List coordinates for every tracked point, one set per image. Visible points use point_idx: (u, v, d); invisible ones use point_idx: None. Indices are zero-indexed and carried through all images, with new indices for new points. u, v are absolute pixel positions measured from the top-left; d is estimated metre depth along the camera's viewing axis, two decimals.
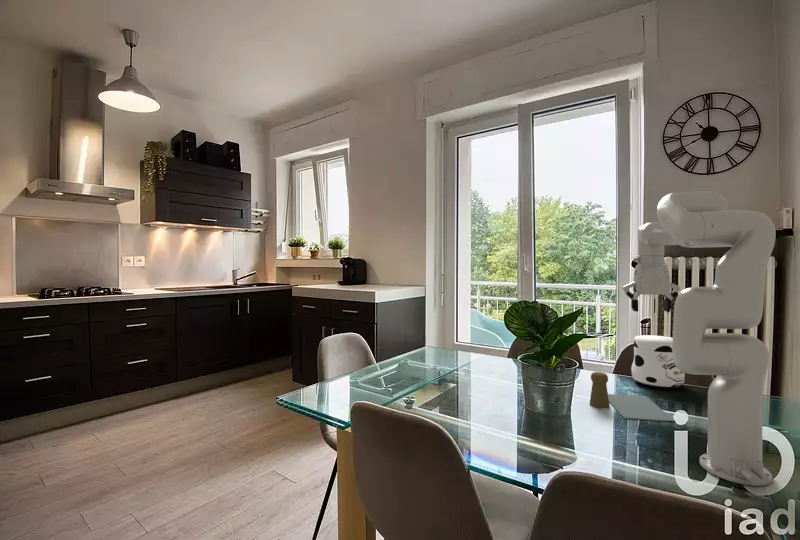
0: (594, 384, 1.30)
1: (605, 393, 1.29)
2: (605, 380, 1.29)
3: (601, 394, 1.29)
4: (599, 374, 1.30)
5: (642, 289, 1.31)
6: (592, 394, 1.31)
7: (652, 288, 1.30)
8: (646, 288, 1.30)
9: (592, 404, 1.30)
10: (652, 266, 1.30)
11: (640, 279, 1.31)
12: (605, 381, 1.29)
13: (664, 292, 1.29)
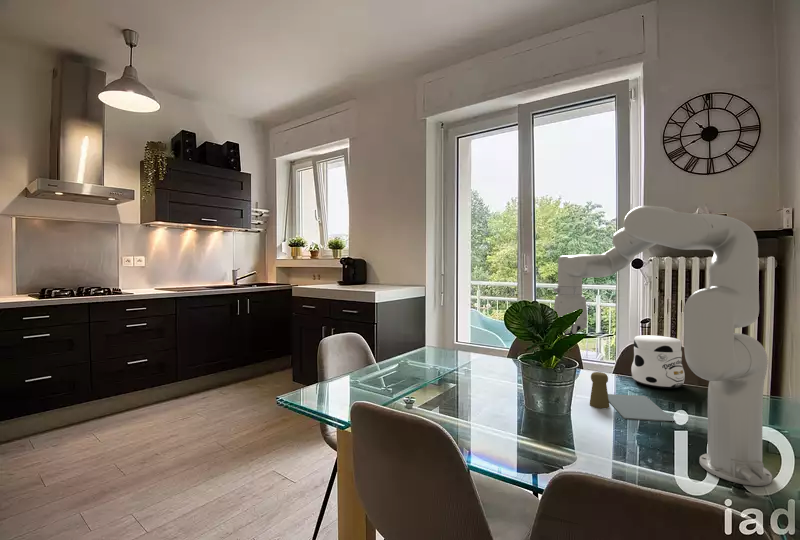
0: (594, 384, 1.30)
1: (605, 393, 1.29)
2: (605, 380, 1.29)
3: (601, 394, 1.29)
4: (599, 374, 1.30)
5: None
6: (592, 394, 1.31)
7: None
8: None
9: (592, 404, 1.30)
10: (569, 297, 1.30)
11: (558, 310, 1.31)
12: (605, 381, 1.29)
13: (581, 323, 1.29)
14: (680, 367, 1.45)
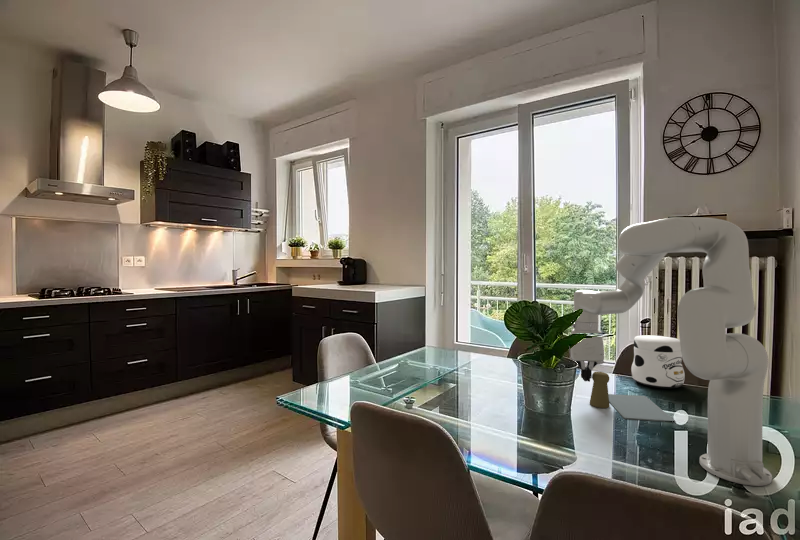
0: (595, 383, 1.30)
1: (606, 393, 1.29)
2: (606, 380, 1.29)
3: (602, 393, 1.29)
4: (600, 373, 1.30)
5: (576, 355, 1.30)
6: (593, 393, 1.31)
7: (586, 354, 1.29)
8: (580, 355, 1.30)
9: (592, 403, 1.30)
10: None
11: (574, 345, 1.30)
12: (606, 381, 1.29)
13: (598, 359, 1.29)
14: (680, 367, 1.45)
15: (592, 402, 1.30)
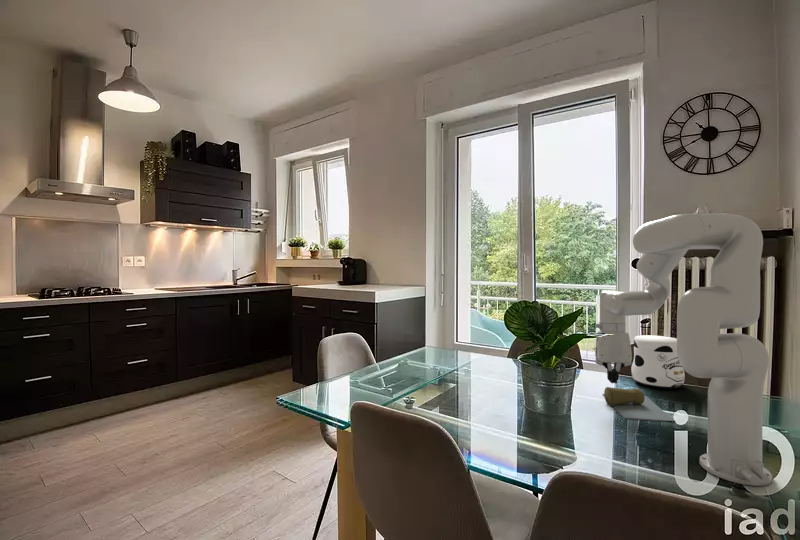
0: (631, 391, 1.30)
1: (626, 401, 1.29)
2: (640, 401, 1.28)
3: (626, 397, 1.28)
4: None
5: (603, 357, 1.28)
6: (620, 389, 1.30)
7: (613, 356, 1.27)
8: (607, 356, 1.28)
9: (611, 389, 1.30)
10: None
11: (601, 347, 1.28)
12: (639, 401, 1.28)
13: (625, 361, 1.27)
14: (680, 367, 1.45)
15: (612, 389, 1.30)
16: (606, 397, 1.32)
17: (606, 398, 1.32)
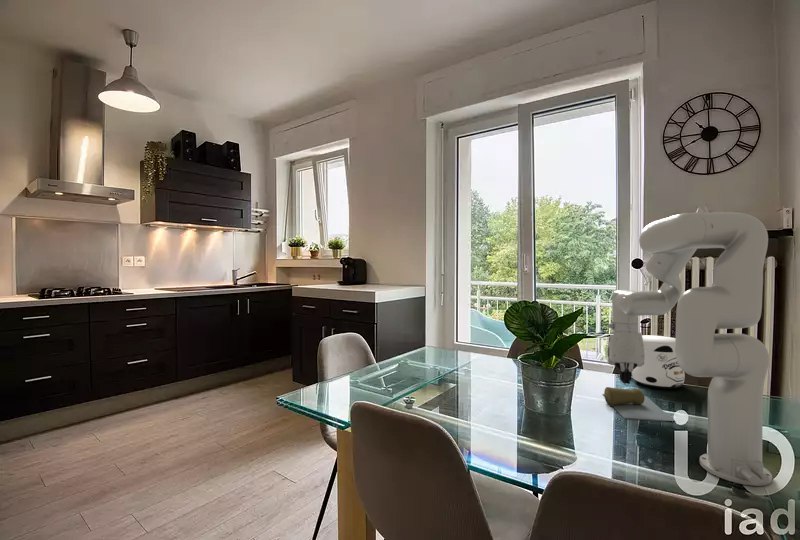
0: (631, 391, 1.30)
1: (626, 401, 1.29)
2: (640, 401, 1.28)
3: (626, 397, 1.28)
4: None
5: (616, 357, 1.27)
6: (620, 389, 1.30)
7: (626, 356, 1.27)
8: (620, 356, 1.27)
9: (611, 389, 1.30)
10: (625, 334, 1.27)
11: (614, 347, 1.27)
12: (639, 401, 1.28)
13: (638, 361, 1.26)
14: (680, 367, 1.45)
15: (612, 389, 1.30)
16: (606, 397, 1.32)
17: (606, 398, 1.32)
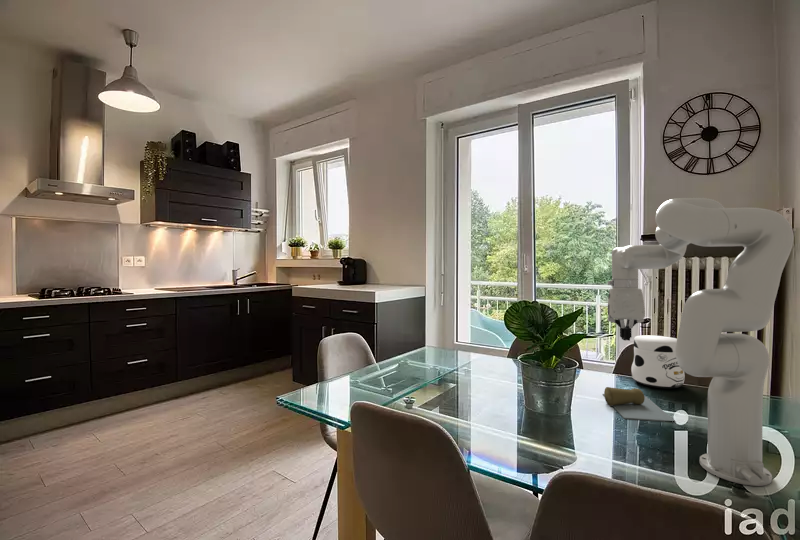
0: (631, 391, 1.30)
1: (626, 401, 1.29)
2: (640, 401, 1.28)
3: (626, 397, 1.28)
4: None
5: (616, 313, 1.27)
6: (620, 389, 1.30)
7: (626, 312, 1.26)
8: (620, 313, 1.27)
9: (611, 389, 1.30)
10: (625, 290, 1.26)
11: (614, 303, 1.27)
12: (639, 401, 1.28)
13: (638, 317, 1.25)
14: None
15: (612, 389, 1.30)
16: (606, 397, 1.32)
17: (606, 398, 1.32)
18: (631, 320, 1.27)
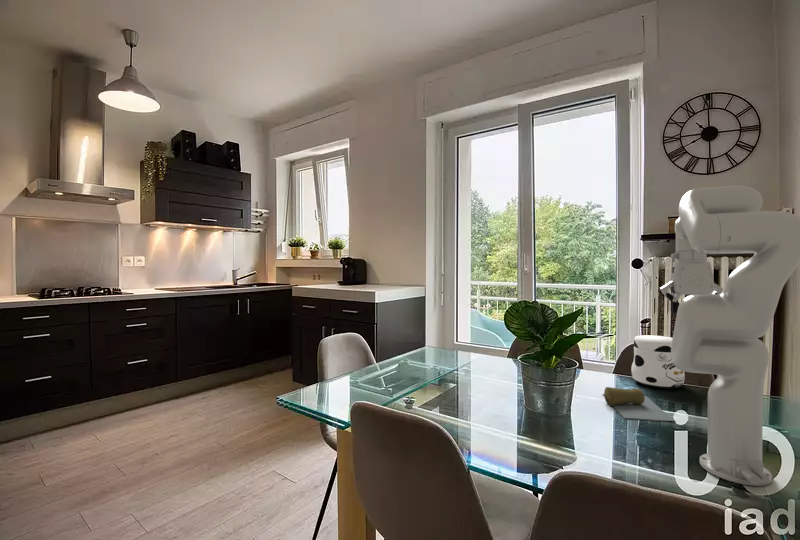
0: (631, 391, 1.30)
1: (626, 401, 1.29)
2: (640, 401, 1.28)
3: (626, 397, 1.28)
4: None
5: (682, 288, 1.17)
6: (620, 389, 1.30)
7: (693, 287, 1.16)
8: (686, 287, 1.16)
9: (611, 389, 1.30)
10: (692, 263, 1.16)
11: (679, 277, 1.17)
12: (639, 401, 1.28)
13: (707, 292, 1.15)
14: None
15: (612, 389, 1.30)
16: (606, 397, 1.32)
17: (606, 398, 1.32)
18: None
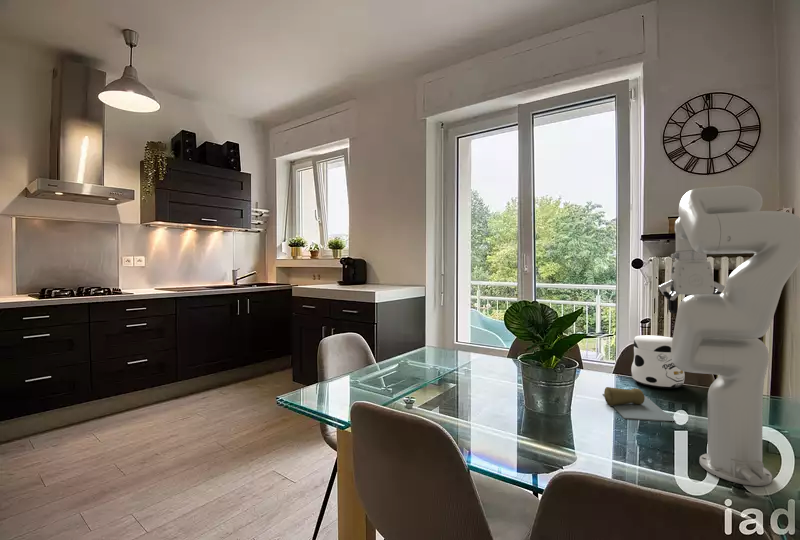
0: (631, 391, 1.30)
1: (626, 401, 1.29)
2: (640, 401, 1.28)
3: (626, 397, 1.28)
4: None
5: (682, 288, 1.17)
6: (620, 389, 1.30)
7: (693, 287, 1.16)
8: (686, 287, 1.16)
9: (611, 389, 1.30)
10: (692, 263, 1.16)
11: (679, 277, 1.17)
12: (639, 401, 1.28)
13: (707, 292, 1.15)
14: None
15: (612, 389, 1.30)
16: (606, 397, 1.32)
17: (606, 398, 1.32)
18: None
